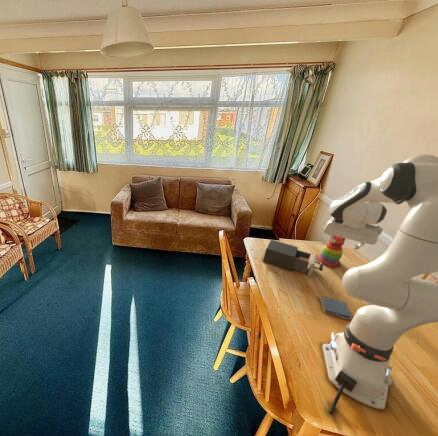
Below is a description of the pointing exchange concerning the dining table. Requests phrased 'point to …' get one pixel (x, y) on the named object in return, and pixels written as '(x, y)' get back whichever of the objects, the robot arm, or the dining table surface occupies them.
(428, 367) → the dining table surface
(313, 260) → the drawer
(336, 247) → the stacking bear
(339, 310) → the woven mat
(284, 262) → the cabinet
